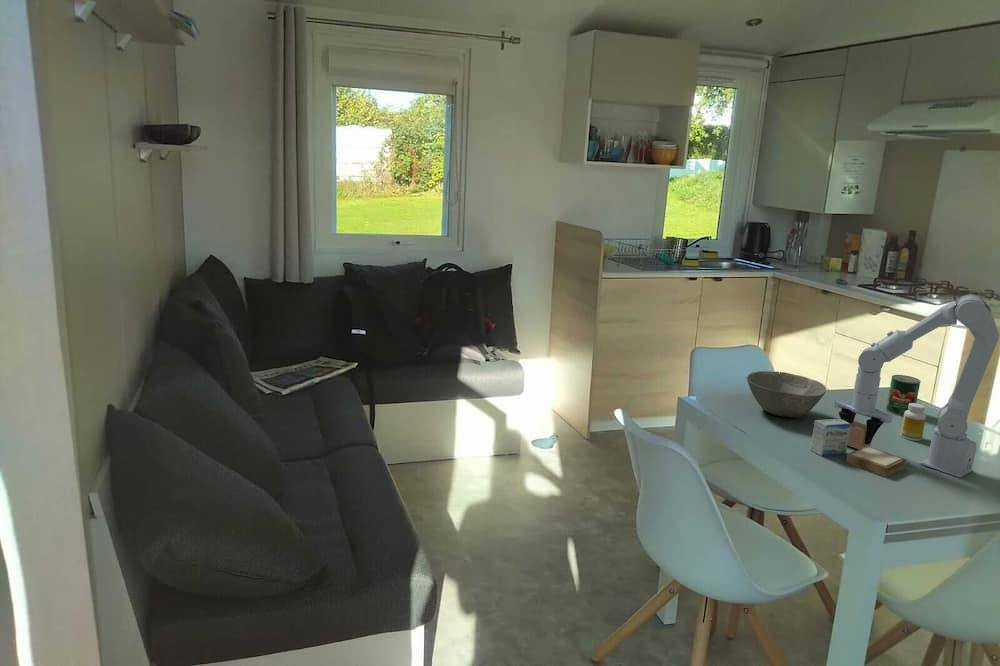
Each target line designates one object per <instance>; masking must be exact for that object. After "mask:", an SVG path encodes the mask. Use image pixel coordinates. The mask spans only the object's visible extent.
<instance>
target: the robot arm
mask: <svg viewBox="0 0 1000 666" xmlns="http://www.w3.org/2000/svg"><path fill="white" fill-rule="evenodd" d="M992 312H993V311H992V310H991V307H990V305H989V304H988V303H987V302H986V301H985V299H983V298H982V297H981V296H979V295H977V294H972V293H970V294H965V295H963V296H960V298H958V300H957V301H956V300H953V301H951V302H948V303H946V304H945V305H944V306H942V307H940V308H939V309H936V310H935V311H934V312H932V313H930V314H929V315H928V316H926V317H924V318H923V319H922V320H920V321H919V322H917V323H915V324H914V325H913V326H910V328H908V329H907V330H900V329H897V330H895V331H893V330H890V331H888V332H887V333H886V335H887V336H885V337H883V338H882V339H881V340H879V341H877V342H876V343H875V342H872V343H871V344H870V346H869V347H867V348H864V349H863V350H862V351H861V353H860V355H858V367H857V373H856V376H855V382H854V388H853V393H852V401H845V400H842V399H836V400H834V404H833V407H834V408H836V409H841V410H840V411H838V415H839V417H840V418H839V419H842V420H844V421H846V422H848V423H852V422H855V418H856V416H857V414H858V415H861V416H863V417H868V418H869V419H866V420H865V422H866V423H865V425H867V431H866V437H865V444H867V445H868V444H870V443H871V444H872V441H873V439H874V436H875V435H876V433H877V431H878V430H879V429H880V428H881V426H882V425H883V424H887V425H888V424H891V423H892V421H893V420H892V419H893V414H889V413H888V412H884V411H882V410H879V409H877V408H876V406H877V402H878V401H877V400H878V394H879V390H880V385H881V384H880V383H881V373H882V372H881V371H882V368H883V367H884V363H890V362H892V361H893V360H894V359H896V358H899V357H900V356H902V355H903V354H905V353H907V352H908V351H910V350H911V349H913V344H914V341H917V340H918V339H920V338H922V337H924V336H926V335H928V334H929V333H931V332H932V331H934V330H936V329H938V328H939V327H942V326H943V325H948V326H949V325H950V326H952V325H957V323H958V322H959V323H960V324H962V325H963V326H964V327H966V328H967V329H968V330H969V332H970V333H971V335H972V337H974V339H973V341H972V344H971V347H970V349H969V351H968V354H967V357H966V358H965V361H964V364H963V366H962V368H961V371H960V374H959V376H958V378H957V381H956V383H955V385H954V387H953V391H952V392H951V395H950V396H949V398H948V401H947V403H946V404H945V405H944V406H942V407H941V408H940V409H939V410H938V419H937V422H936V423H937V425H936V427H934V428H933V431H932V434H931V439H930V440H931V441H930V444H929V450H928V456H927V458H926V459H924V460H921V461H920V463H919V465H922V466H925V467H929V468H931V469H934V470H937V471H939V472H942V473H945V474H949V475H951V476H954V477H957V478H962V477H964V476H966V475H967V474H969V473H971V472H972V471H974V470H973V465H974V462H975V457H976V452H977V442H976V441H973V440H972V439H970V438H969V437H967V436H968V434H967V433H966V432H967V430H968V417H969V414H970V410H971V406H972V404H973V401H974V399H975V397H976V394H977V391H978V390H979V387H980V385H981V382H982V380H983V377H984V375H985V373H986V370H987V367H988V365H989V363H990V360H991V358H992V356H993V354H994V352H995V349H996V346H997V345H998V341H999V339H1000V332H999V330H998V327H997V324H996V322H995V318H994V315H993V313H992ZM957 321H958V322H957Z"/></svg>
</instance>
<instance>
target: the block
mask: <svg viewBox="0 0 1000 666" xmlns="http://www.w3.org/2000/svg"><path fill="white" fill-rule="evenodd" d="M850 424H851V427H850V432H849V438H848V444H847V447H848V446H849V447H851V448H854V449H856V450H858V449H860V448H863V447H865V446H869V447H871V445H872V442H871V443H870V444H868V445H867V444H865V437H866V431H867V424H866V423H862V422H859V421H855V420H854V421H853V422H852V423H850Z"/></svg>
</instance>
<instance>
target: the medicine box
mask: <svg viewBox="0 0 1000 666" xmlns="http://www.w3.org/2000/svg"><path fill="white" fill-rule="evenodd" d="M850 427H851V424H850V423H848V422H846V421H844V420H842V419H841V418H830V419H829V418H827V419H815V420H814V422H813V429H812V436H811V443H810V447H809V448H810V451H811V452H813V453H815V454H817V455H818V456H821V457H829V456H839V455H841V456H842V455H846V453H847V449H848V445H847V444H848V438H849V432H850Z"/></svg>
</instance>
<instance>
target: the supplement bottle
mask: <svg viewBox="0 0 1000 666" xmlns="http://www.w3.org/2000/svg"><path fill="white" fill-rule="evenodd" d="M908 409H909V410H907V411H905V412H904V416H902V417H903V418H902V421H901V426H900V427H901V428H900V432H899V433H900V434H899V435H900V437H901V438H902V439H905V440H908V441H914V442H917V441H918V442H919V441H921V440H922V439H923V436H924V430H925V424H926V420H927V416H926V413H924V412H925V411H926V410H925V409H926V406H925V405H923V404H922V403H918V402H916V403H909V406H908Z"/></svg>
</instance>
